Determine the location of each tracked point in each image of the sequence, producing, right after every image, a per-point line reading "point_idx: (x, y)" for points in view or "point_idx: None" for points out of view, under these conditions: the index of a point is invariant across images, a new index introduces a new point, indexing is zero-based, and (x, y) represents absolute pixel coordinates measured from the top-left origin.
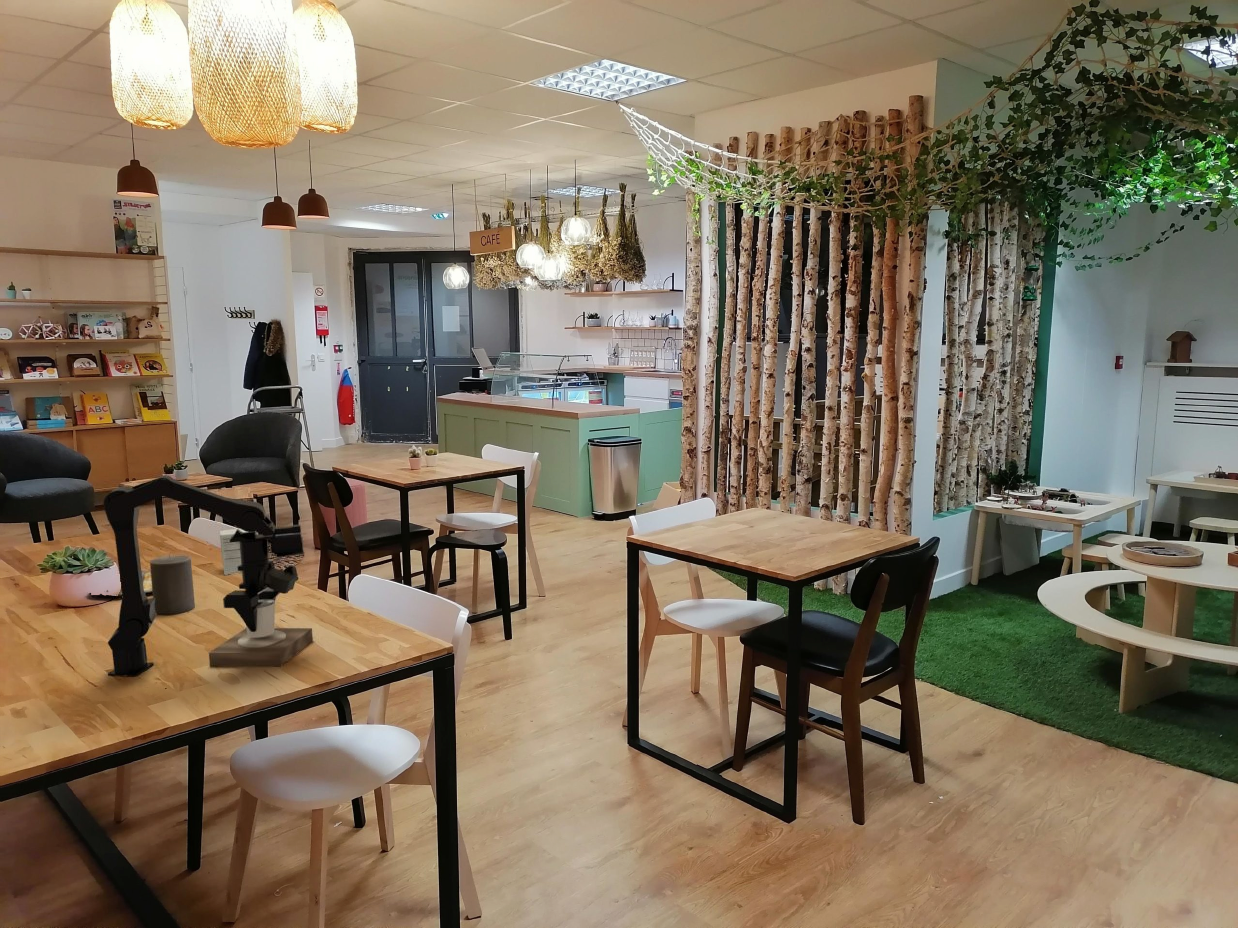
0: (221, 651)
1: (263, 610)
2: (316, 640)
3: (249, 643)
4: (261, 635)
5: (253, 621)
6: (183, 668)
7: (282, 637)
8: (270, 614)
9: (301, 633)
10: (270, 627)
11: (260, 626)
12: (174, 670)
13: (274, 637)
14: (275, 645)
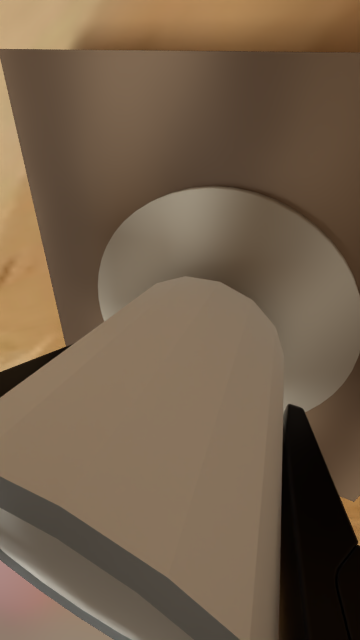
0: (356, 468)
1: (244, 552)
2: (58, 32)
3: (300, 378)
4: (280, 345)
5: (339, 511)
6: (344, 500)
7: (217, 202)
8: (182, 398)
9: (100, 89)
10: (225, 316)
11: (278, 399)
12: (355, 517)
13: (212, 261)
14: (356, 213)
